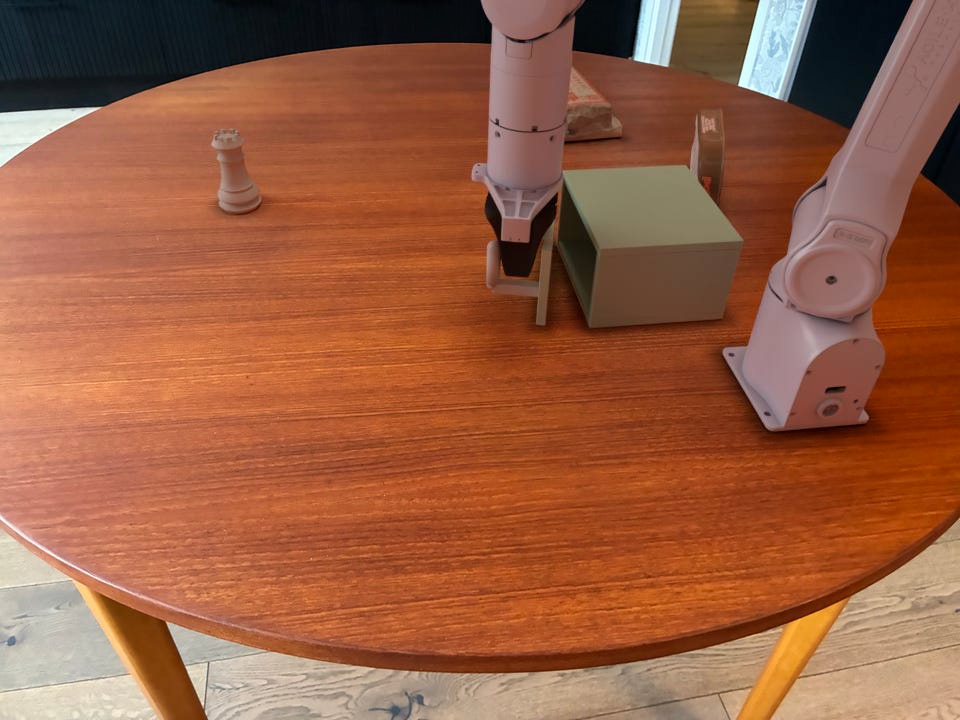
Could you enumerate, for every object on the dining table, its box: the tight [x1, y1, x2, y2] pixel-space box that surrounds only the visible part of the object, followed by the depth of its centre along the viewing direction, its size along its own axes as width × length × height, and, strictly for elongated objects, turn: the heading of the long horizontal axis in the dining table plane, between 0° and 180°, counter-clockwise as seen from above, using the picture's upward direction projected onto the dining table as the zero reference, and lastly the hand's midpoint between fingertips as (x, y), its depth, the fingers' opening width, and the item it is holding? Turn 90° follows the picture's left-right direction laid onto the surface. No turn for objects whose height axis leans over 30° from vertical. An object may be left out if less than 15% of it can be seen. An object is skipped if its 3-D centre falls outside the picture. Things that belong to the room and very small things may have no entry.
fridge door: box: [485, 202, 558, 326], centre depth 68 cm, size 5×14×7 cm, turn 173°
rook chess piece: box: [210, 127, 262, 215], centre depth 79 cm, size 4×4×8 cm
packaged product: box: [564, 64, 624, 142], centre depth 100 cm, size 18×5×10 cm
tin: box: [689, 107, 726, 207], centre depth 82 cm, size 15×3×8 cm, turn 168°
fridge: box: [555, 164, 744, 329], centre depth 69 cm, size 12×14×8 cm
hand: (517, 272), depth 65 cm, fingers closed, pressing on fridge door
